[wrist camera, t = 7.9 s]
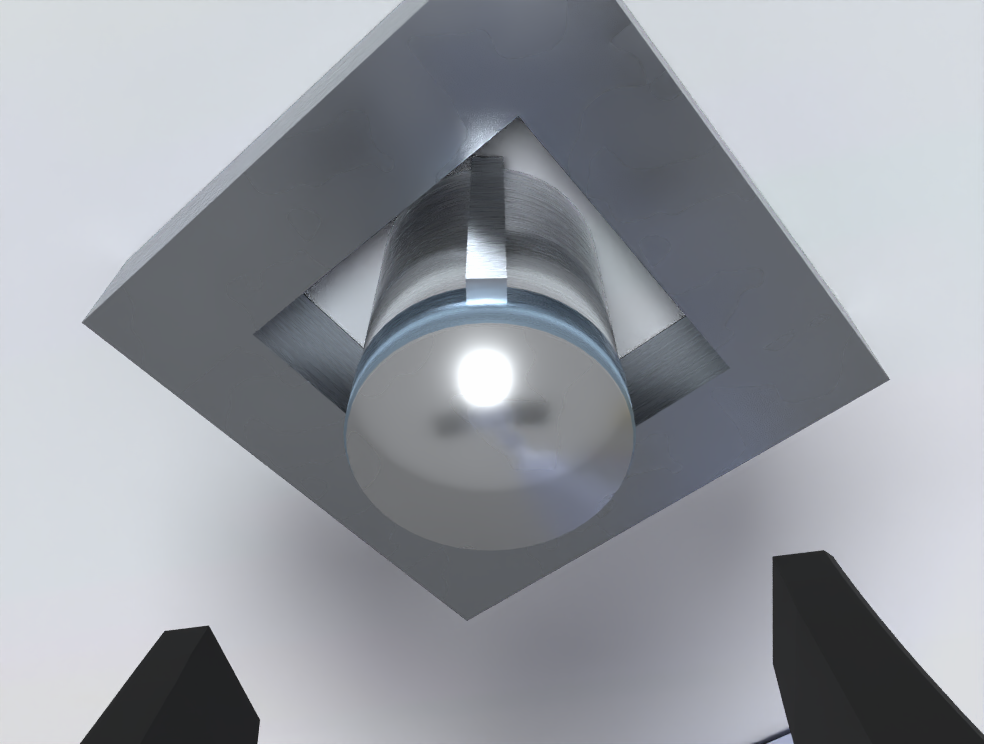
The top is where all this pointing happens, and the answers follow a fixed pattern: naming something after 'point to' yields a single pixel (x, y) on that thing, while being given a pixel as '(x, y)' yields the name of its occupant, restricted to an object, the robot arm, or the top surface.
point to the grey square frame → (413, 171)
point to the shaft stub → (490, 369)
